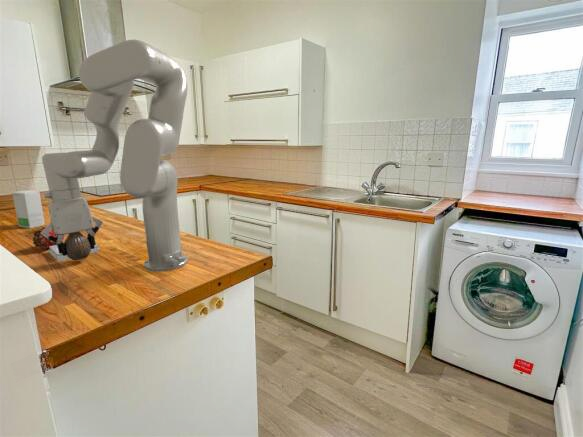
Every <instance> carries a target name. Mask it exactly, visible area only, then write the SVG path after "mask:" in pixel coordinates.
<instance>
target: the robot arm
mask: <svg viewBox="0 0 583 437" xmlns="http://www.w3.org/2000/svg"><path fill="white" fill-rule="evenodd" d="M78 78H79V81H80V83H81V84H82V86H83V87H84V88H85V89H87V90H88V91H90V94H89V98H88V99H87V103H86V105H85V108H84V111H83V116H84V117H85V119H86V120H88V121H89V122H90V123H91V124H93V126H94V127H95V131H96V137H95V140H94V143H93V146H92V149H89V150H88V149H87V150H75V151H68V152H52V153H49V152H48V153H44V154H43V155H42V157H41V161H42V165H43V170H44V173H45V174H44V175H45V179H46V183H47V187H48V192H46V193H43V197H44V199H49V202H48V212H49V220H50V222H49V223H48V224H47V226H45V227H46V228H45V229H44V230H43V231H42V232H41V235H43V236H44V237H46V238H48V239H50V240H51V241H53V242H56V243H57V247H58V251H59V253H62V255H63V256H66V255H67V254H66V249H65V245H64V242H63V241H62V239H63V237H64V238H65V236H66V235H69V234H71V233H76V232H80V233H81V232H84V231H85V232H86V233H87V236H86V237H87V239H88V240H89V242H90V245H91V249H95V247H94V245H97V243H96V239H95V236H96V234H97V233H98V231H99V229H100V228H101V226H102V225H103V224H104V223H103V220H101V219H98V218H96V217H94V216H92V213H91V210H90V207H89V204H88V201H87V199H86V197H84V196H82V192H81V187H80V182H79V179H84V178H90V177H95V176H100V175H104V174H106V173H107V172H108V171H110V169H111V168H112V166H113V164H114V162H115V160H116V158H117V155H118V154H119V153H118V152H119V149H120V134H119V129H118V126H119V123H120V121H121V119H122V116H123V114H124V111H125V109H126V106H127V103H128V102H129V99H130V97H131V94H132V92H133V89H134V85H135V80H138V79H139V80H141V81H145V82H147V83H151V84H153V85H154V86H155V90H154V92H153V95H152V97H151V100H150V105H149V113H148V116H147V117H148V118H141V119H137V120H135V121H134V122H132V123H131V124H130V125H129V126H128V127H127V128H128V129H127V130H126V132H125V135H124V139H123V140H124V141H123V148H122V156H121V157H122V158H121V163H120V176H119V178H120V179H119V180H120V183H121V186H122V189H123V190H124V191H125V193H126V194H127V195H129V196H130V197H132V198H135V199H142V216H143V226H144V231H145V233H144V234H145V239H146V240H145V241H146V248H147V254H148V255H147V256H148V257H147V259H146V260H145V261H144V262H143V269H145V270H147V271H149V272H155V273H156V272H169V271H173V270H177V269H180V268H181V267H184V266H185V265H187V263H188V261H189V259H188V256H187V255H185V254H183V250H182V242H181V229H180V220H179V211H178V174H177V170H176V168H175V167H174V166H173V165H172V164H171V162H169V161H167V160H166V159H161V158H162V157H164V156H169V155H172V154H173V153H175V152H176V151H177V149H178V147H179V144H180V143H179V142H180V137H181V132H182V125H183V119H184V113H185V112H184V111H185V106H186V100H187V95H188V80H187V75H186V74H185V71H184V70H183V68H182V66H181V65H180V64H179V63H178V62H177V61H176V60H175V59H174V58H173V57H171V56H170V55H169V54H167V53H166V52H164V51H162V50H161V49H158V48H156V47H154V46H153V45H150V44H148V43H147V42H144V41H142V40H141V39H126V40H124V41H121V42H119V43H116V44H114V45H112V46H109V47H106V48H104V49H102V50H99V51H97V52H95V53H93V54H91V55H89V56H88V57H86V58H85V59H84V60H83V61H82V62H81V64H80V65H79V70H78ZM94 223H95V225H94ZM51 229H52V230H53V232H55V233H56V234H57V235H56V237H54V236H52V235H50V234H49V232H50V231H51ZM63 240H64V239H63Z"/></svg>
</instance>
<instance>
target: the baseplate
mask: <svg viewBox="0 0 583 437" xmlns="http://www.w3.org/2000/svg"><path fill="white" fill-rule="evenodd" d="M94 247H95V249H91V251H90V254H95V253H99V252H101V250H100V247H99V245H98V244H96V245H94ZM49 248H50V249H49V250H48V253H49V254H50V255H51V256H52V257H53V258H54V259H55V260H56V261H57V262H61V261H66V260H70V259H69V257H68V256H67V255H66V256H63V255H62V253H59V251H58V247H57V245H54V246H49ZM90 254H89V255H90Z"/></svg>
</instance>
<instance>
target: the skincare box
mask: <svg viewBox="0 0 583 437" xmlns="http://www.w3.org/2000/svg"><path fill="white" fill-rule="evenodd" d="M40 193H41V192H40V191H38V190H37V191H36V190H30V189H29V190H28V189H25V190H17V191H13V192H12V197H13V198H12V200H13V204H14V209H15V210H14V211H15V215H16V220H17V225H18V227H20V228H25V229H33V228H37V227H41V226H45V225H46V224H45V218H44V211H43V206H42V205H43V204H42V200H41V194H40Z"/></svg>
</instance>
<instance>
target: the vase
mask: <svg viewBox="0 0 583 437" xmlns="http://www.w3.org/2000/svg"><path fill="white" fill-rule="evenodd" d="M63 243H64V245H65V249H66V254H67V256H68V257H69V258H70V259H69V260H73V261H80V260H84V259H86V258H88V257H89V255H90V251H91V245H90V242H89V240H88V239H87V236H85V235H84V234H83V233H81V231H80V232H76V233H71V234H67V236H66V238H65V240H64V242H63Z"/></svg>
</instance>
